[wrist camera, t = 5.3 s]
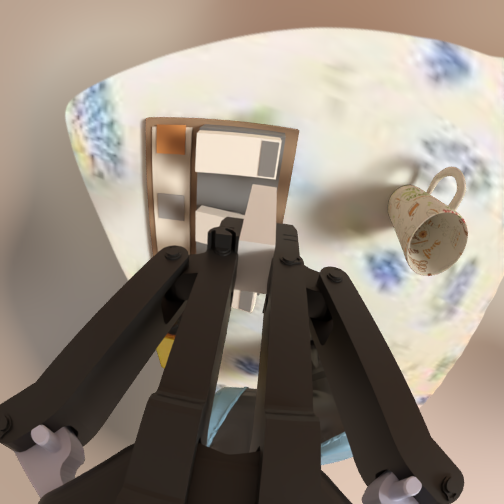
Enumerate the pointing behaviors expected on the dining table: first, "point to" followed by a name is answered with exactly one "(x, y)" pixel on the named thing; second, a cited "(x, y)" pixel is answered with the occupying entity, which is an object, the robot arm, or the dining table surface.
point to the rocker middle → (210, 220)
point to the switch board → (202, 177)
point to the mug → (429, 225)
